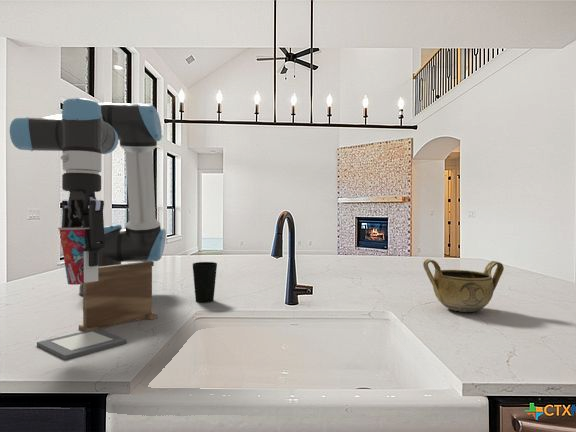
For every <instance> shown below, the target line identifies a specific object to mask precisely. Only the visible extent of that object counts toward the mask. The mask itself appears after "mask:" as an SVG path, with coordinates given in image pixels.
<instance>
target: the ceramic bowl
mask: <svg viewBox="0 0 576 432" xmlns="http://www.w3.org/2000/svg"><path fill="white" fill-rule="evenodd" d="M429 263H431V264H432V266H433V267H434V275H433V274H432V272H431V269H430V267H429ZM422 265H423V268H424V271H425V273H426V276H427V277H428V279H429V281H430V284H431V285H432V289H433V292H434V295H435V298H436V299H437V301H439V302H440V304H442V305H443V306H444V307H445V308H447V309H449V310H451V311H453V310H454V311H453V312H456V311H459V312H458V313H463V312H470V313H474V312H478V311H480V310H483V309H484V308H485V307H486V306H487V305H488V304H489V303H490V301H492V298H493V295H494V291H495V290H496V287H497V286H498V283H499V282H500V278H501V276H502V275H503V273H504V270H505V267H504V265H503V263H502V262H500V261H496V260H491V261H490V262H488V264H487V265H486V266H485V268H484V271H483V272H481V271H477V270H476V271H473V270H468V269H467V270H465V269H464V270H463V269H441V266H440V265H439V263H438V262H437V261H436V260H435V259H431V258H426V259H424V261H423V263H422ZM495 266H496V269H495V271H494V273H493V276H492V269H493V268H494V267H495Z"/></svg>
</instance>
